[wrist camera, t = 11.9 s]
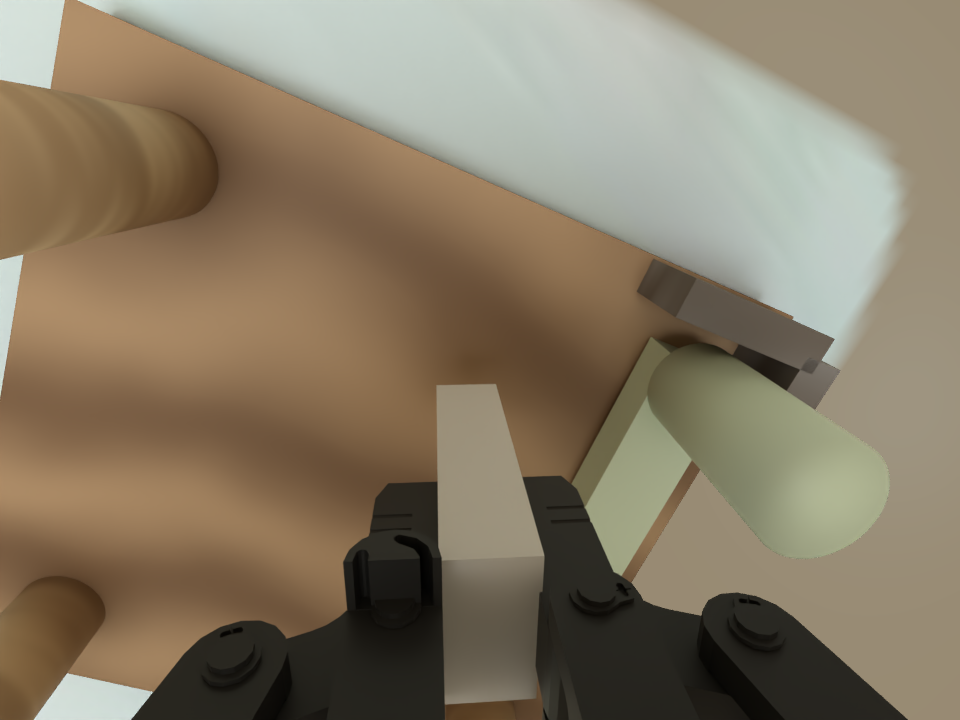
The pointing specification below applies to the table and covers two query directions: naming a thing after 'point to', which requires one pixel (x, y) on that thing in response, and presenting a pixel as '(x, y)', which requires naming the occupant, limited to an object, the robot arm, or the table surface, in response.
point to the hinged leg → (727, 456)
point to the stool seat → (276, 351)
